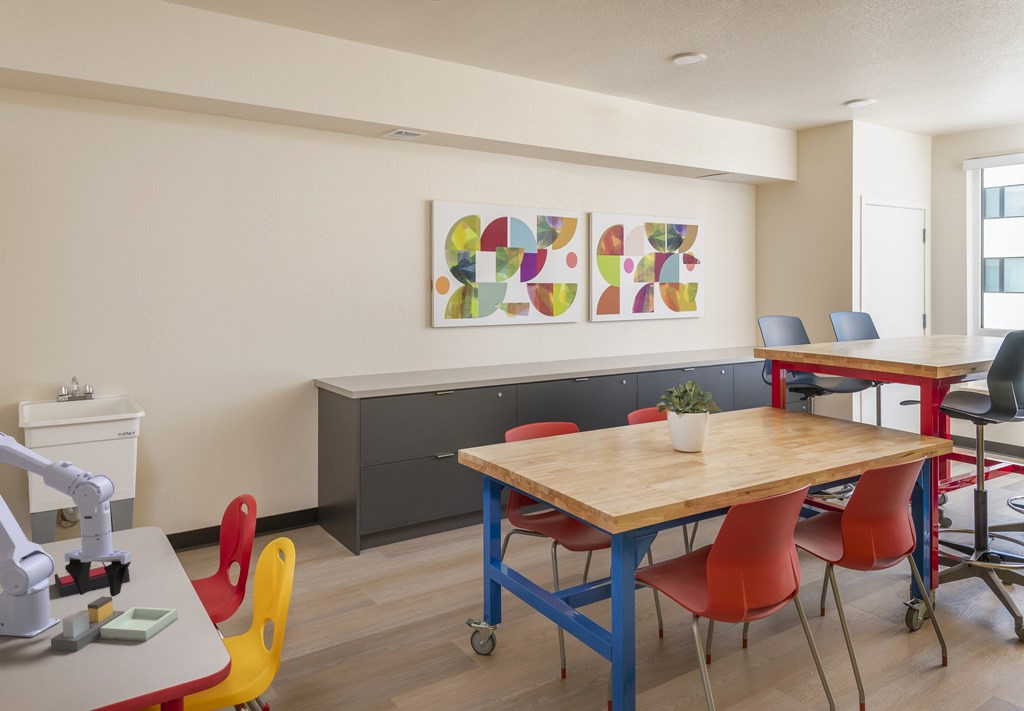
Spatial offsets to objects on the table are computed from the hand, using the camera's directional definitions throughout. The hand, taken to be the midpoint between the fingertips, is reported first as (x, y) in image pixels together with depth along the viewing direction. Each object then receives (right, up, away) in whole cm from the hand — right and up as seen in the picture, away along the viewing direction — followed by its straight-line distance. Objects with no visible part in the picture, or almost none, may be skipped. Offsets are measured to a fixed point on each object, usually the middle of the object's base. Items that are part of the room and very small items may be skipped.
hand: (99, 593), depth 154 cm
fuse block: (-1, -8, -3) cm, 8 cm away
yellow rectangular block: (0, -8, +1) cm, 8 cm away
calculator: (-17, -7, +26) cm, 32 cm away
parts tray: (+9, -8, 0) cm, 12 cm away
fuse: (-1, -8, -6) cm, 10 cm away
